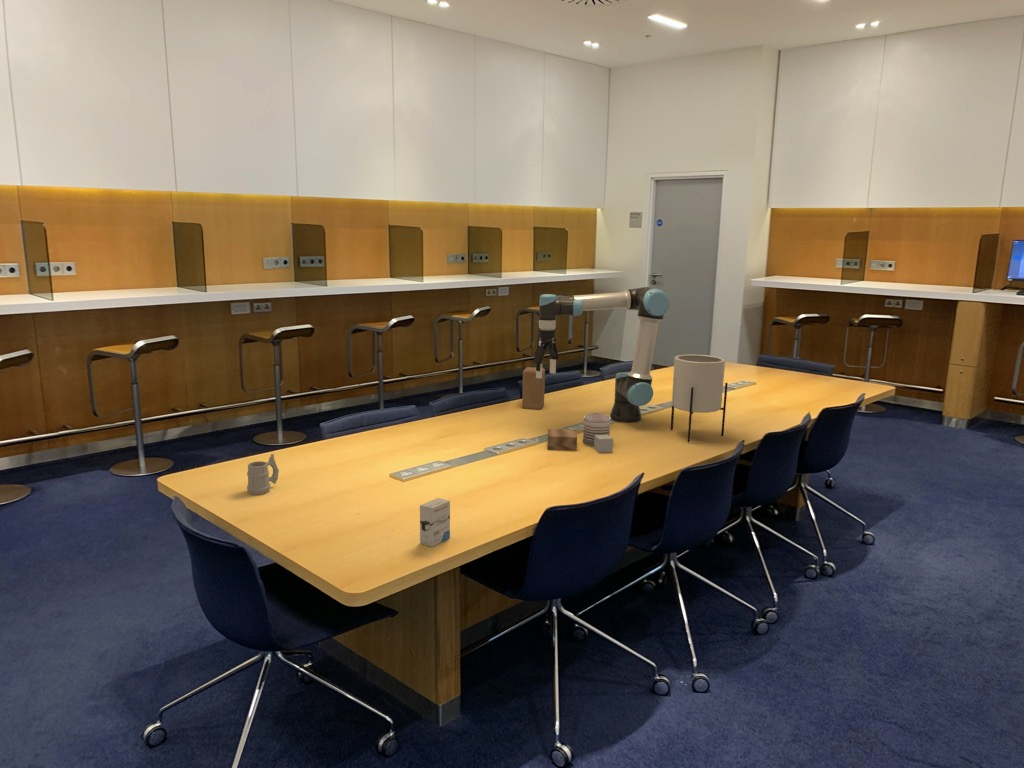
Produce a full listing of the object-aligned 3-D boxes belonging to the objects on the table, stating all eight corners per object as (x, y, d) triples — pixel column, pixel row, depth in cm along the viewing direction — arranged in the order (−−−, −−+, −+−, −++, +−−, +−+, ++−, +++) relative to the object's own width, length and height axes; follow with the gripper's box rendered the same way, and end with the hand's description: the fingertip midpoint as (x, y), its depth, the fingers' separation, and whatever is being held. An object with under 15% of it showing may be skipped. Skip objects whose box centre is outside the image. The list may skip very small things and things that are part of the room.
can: (611, 441, 332) (613, 414, 330) (606, 448, 322) (607, 420, 320) (586, 438, 336) (587, 412, 334) (579, 445, 326) (581, 417, 323)
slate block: (607, 448, 322) (607, 434, 321) (612, 452, 316) (613, 438, 315) (593, 449, 320) (594, 435, 319) (598, 453, 315) (599, 439, 313)
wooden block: (541, 410, 386) (542, 371, 382) (521, 408, 388) (522, 370, 384) (544, 405, 396) (545, 367, 392) (525, 404, 398) (526, 366, 394)
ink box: (438, 534, 229) (438, 496, 226) (450, 538, 226) (450, 500, 224) (418, 543, 222) (418, 504, 219) (431, 547, 219) (431, 508, 217)
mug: (242, 492, 260) (240, 458, 258) (271, 483, 270) (270, 450, 267) (255, 497, 256) (254, 462, 254) (285, 488, 265) (284, 454, 263)
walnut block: (575, 443, 329) (576, 429, 328) (576, 451, 317) (577, 437, 316) (547, 442, 330) (548, 428, 328) (547, 450, 318) (548, 436, 317)
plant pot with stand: (725, 433, 349) (731, 357, 341) (715, 446, 327) (722, 365, 320) (673, 427, 358) (678, 352, 351) (660, 439, 337) (665, 360, 330)
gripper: (552, 325, 354) (550, 370, 358) (526, 331, 333) (525, 379, 337) (566, 326, 350) (565, 372, 355) (541, 332, 329) (540, 381, 333)
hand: (545, 375), depth 346 cm, fingers open, 13 cm apart
